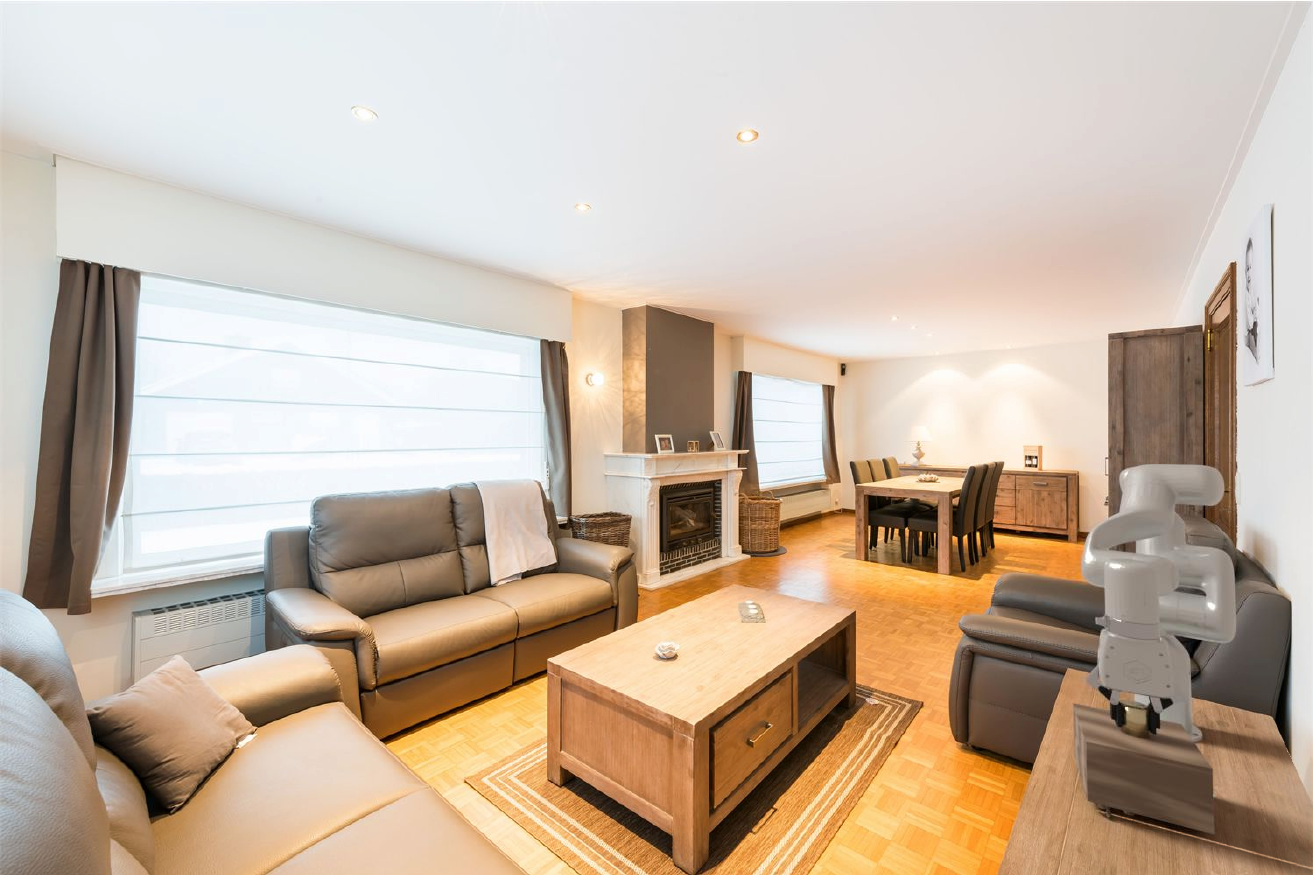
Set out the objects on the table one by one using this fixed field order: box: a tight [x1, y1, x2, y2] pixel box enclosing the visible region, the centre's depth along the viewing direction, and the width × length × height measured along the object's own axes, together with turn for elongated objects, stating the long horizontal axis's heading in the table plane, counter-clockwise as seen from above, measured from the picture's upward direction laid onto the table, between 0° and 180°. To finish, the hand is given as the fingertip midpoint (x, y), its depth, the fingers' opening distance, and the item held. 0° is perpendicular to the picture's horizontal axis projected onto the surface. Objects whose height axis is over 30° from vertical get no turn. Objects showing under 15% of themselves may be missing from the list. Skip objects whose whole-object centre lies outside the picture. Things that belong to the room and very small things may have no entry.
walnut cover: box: [1072, 699, 1216, 835], centre depth 98 cm, size 16×16×16 cm
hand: (1134, 726), depth 98 cm, fingers closed on walnut cover, 4 cm apart
